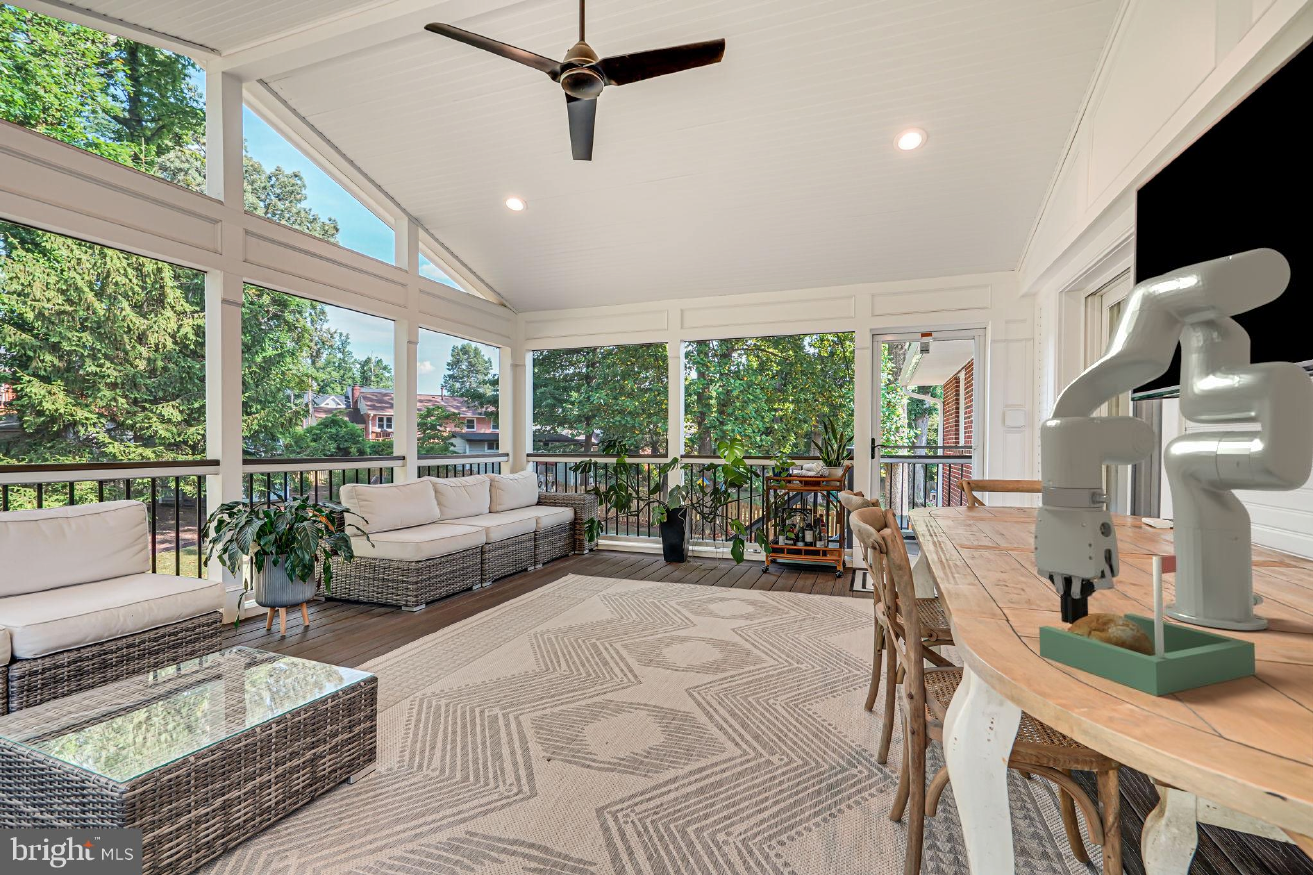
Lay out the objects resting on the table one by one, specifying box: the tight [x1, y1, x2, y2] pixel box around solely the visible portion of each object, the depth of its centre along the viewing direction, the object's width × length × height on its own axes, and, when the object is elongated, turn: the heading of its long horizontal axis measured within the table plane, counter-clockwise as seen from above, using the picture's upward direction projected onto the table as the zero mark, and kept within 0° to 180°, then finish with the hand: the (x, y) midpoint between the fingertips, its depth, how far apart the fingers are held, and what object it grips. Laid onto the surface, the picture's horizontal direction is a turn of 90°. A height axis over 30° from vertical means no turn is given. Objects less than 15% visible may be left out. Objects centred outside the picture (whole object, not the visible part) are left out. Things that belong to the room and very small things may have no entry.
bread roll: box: [1066, 612, 1155, 656], centre depth 81 cm, size 10×10×8 cm
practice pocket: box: [1038, 554, 1256, 697], centre depth 79 cm, size 19×14×16 cm
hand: (1074, 622), depth 87 cm, fingers closed
